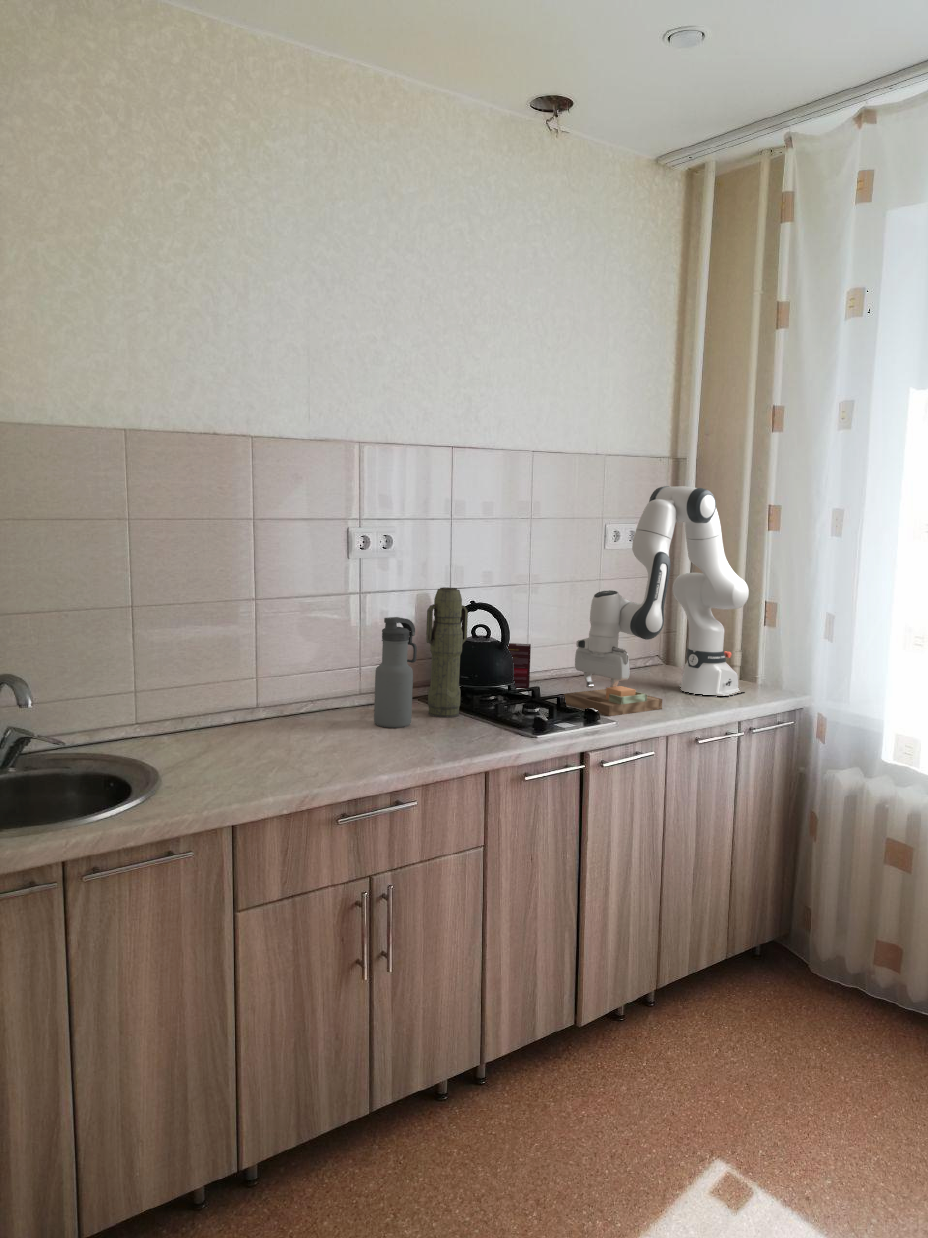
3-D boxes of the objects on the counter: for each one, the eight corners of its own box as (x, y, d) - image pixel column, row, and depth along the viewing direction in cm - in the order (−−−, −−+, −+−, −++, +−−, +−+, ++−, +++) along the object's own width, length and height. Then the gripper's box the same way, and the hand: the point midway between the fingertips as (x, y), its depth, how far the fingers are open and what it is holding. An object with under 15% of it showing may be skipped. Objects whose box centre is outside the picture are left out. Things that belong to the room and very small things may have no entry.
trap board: (615, 697, 290) (616, 681, 290) (661, 709, 275) (662, 692, 274) (563, 703, 277) (564, 687, 277) (608, 716, 262) (609, 698, 262)
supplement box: (529, 693, 290) (531, 643, 288) (528, 696, 285) (531, 645, 283) (501, 692, 291) (503, 642, 289) (500, 695, 286) (503, 644, 284)
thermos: (470, 715, 256) (475, 589, 252) (435, 719, 249) (439, 590, 245) (452, 708, 263) (457, 586, 259) (417, 712, 257) (421, 587, 252)
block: (620, 696, 276) (621, 686, 276) (635, 700, 271) (635, 689, 271) (605, 698, 272) (606, 687, 272) (620, 702, 268) (621, 691, 267)
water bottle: (395, 718, 249) (399, 614, 246) (420, 725, 242) (423, 619, 239) (366, 723, 242) (369, 616, 239) (390, 730, 235) (393, 621, 232)
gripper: (635, 649, 270) (633, 695, 272) (587, 639, 287) (585, 683, 289) (620, 650, 267) (617, 697, 268) (572, 640, 283) (570, 685, 285)
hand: (600, 690), depth 279 cm, fingers open, 8 cm apart
